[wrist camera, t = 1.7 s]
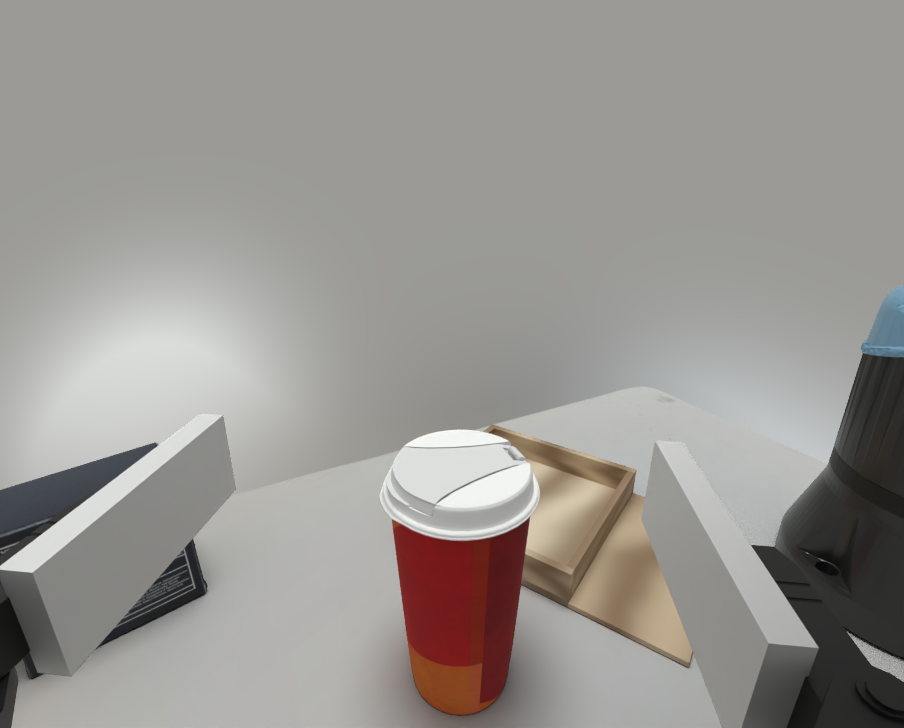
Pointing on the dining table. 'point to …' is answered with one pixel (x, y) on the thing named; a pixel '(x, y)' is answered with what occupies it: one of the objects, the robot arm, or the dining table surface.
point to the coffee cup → (460, 560)
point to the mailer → (596, 546)
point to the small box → (35, 502)
